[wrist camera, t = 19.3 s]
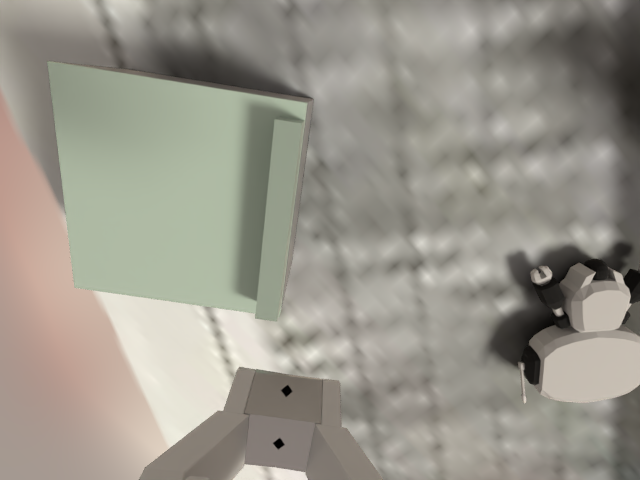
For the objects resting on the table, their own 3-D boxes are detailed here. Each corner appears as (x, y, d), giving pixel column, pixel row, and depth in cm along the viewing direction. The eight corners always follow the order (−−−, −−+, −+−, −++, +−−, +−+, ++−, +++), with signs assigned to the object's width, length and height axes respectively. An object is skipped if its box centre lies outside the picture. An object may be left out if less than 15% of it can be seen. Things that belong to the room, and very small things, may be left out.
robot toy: (511, 255, 36) (505, 381, 40) (535, 273, 32) (525, 412, 36) (643, 243, 35) (622, 374, 40) (687, 260, 31) (657, 404, 35)
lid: (59, 62, 22) (19, 58, 19) (307, 102, 22) (304, 104, 20) (83, 280, 28) (55, 302, 25) (281, 309, 28) (275, 333, 25)
